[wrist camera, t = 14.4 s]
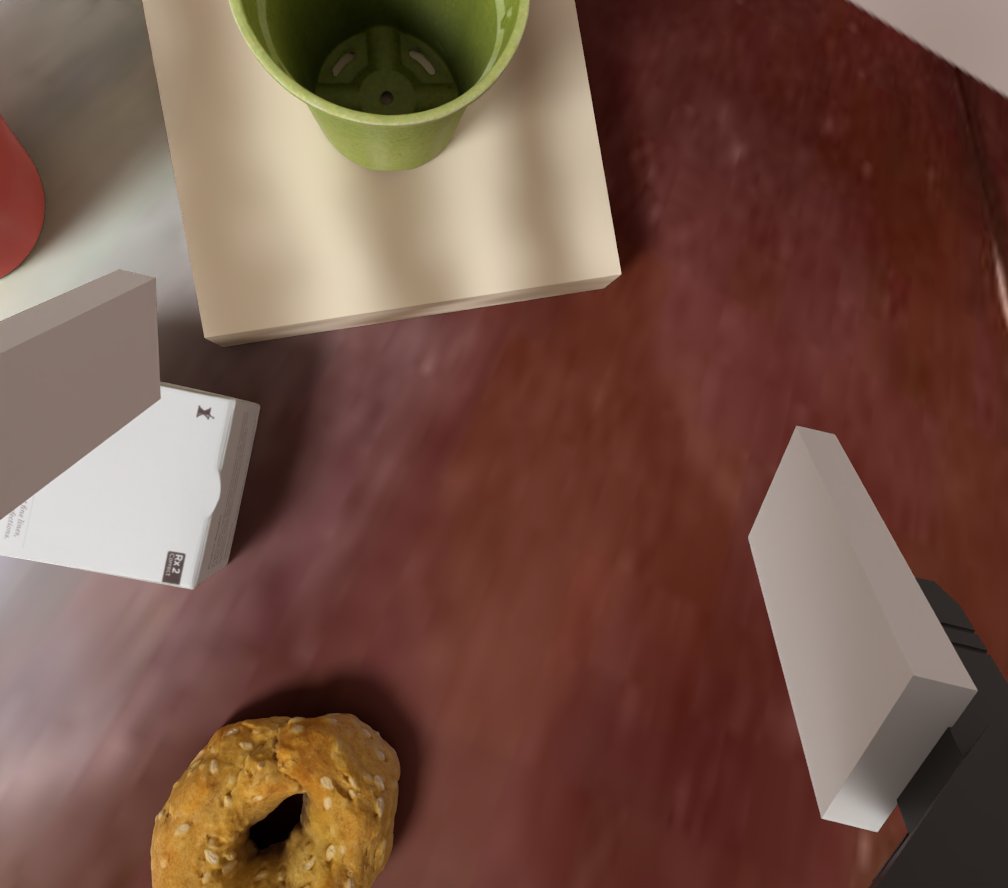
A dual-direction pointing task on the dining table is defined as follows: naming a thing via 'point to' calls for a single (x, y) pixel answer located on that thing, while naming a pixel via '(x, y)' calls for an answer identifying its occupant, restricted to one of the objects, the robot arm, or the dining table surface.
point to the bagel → (261, 788)
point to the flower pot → (18, 202)
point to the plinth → (377, 188)
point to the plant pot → (384, 66)
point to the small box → (147, 495)
